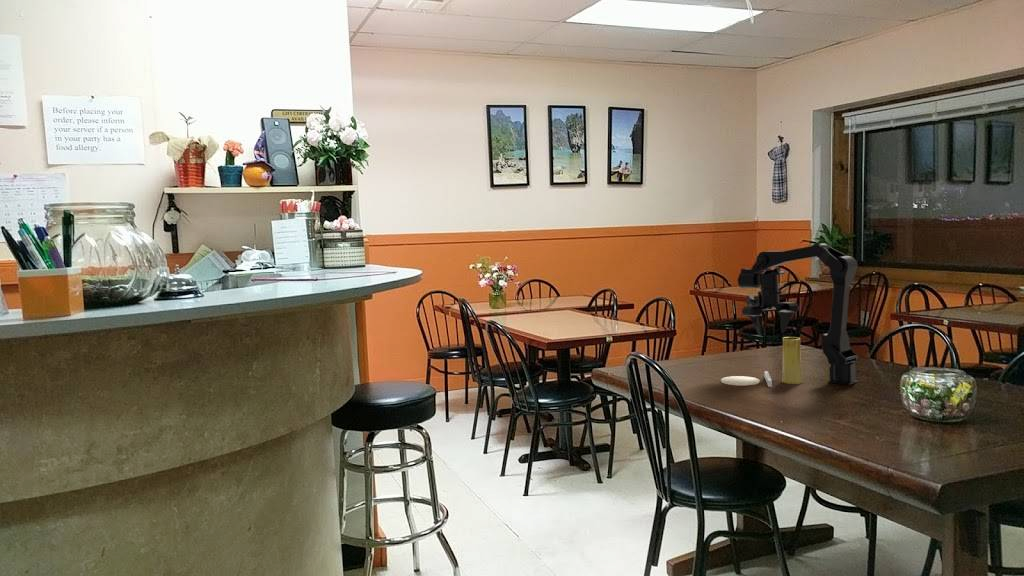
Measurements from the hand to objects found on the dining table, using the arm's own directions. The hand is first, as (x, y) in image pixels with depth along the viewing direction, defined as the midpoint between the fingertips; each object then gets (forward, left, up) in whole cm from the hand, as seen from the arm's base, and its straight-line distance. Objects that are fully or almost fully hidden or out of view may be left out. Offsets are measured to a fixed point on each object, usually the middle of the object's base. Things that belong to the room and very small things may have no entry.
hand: (771, 333), depth 235 cm
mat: (+1, +18, -13) cm, 22 cm away
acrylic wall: (-6, +13, -13) cm, 20 cm away
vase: (-12, +9, -14) cm, 20 cm away
